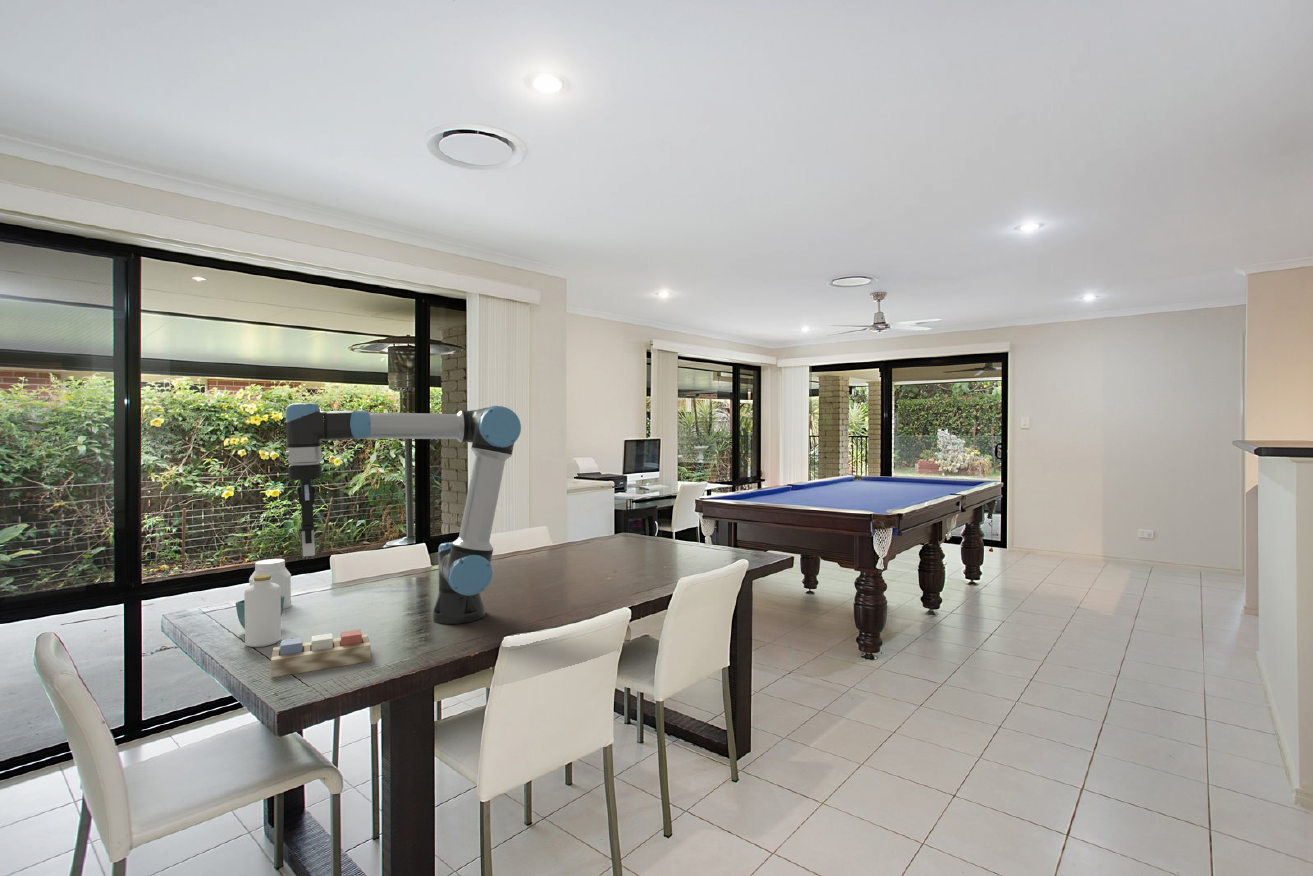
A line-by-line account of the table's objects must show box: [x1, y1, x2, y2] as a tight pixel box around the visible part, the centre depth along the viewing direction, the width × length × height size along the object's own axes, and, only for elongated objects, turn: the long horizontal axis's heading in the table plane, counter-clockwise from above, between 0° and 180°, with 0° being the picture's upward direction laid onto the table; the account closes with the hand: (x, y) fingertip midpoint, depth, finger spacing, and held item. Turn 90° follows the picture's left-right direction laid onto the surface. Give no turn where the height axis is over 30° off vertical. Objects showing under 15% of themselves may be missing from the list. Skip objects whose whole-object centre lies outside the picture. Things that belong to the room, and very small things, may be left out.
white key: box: [311, 632, 334, 651], centre depth 156 cm, size 4×4×5 cm
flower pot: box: [235, 596, 285, 630], centre depth 181 cm, size 9×9×9 cm
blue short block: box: [280, 637, 304, 656], centre depth 152 cm, size 4×4×5 cm
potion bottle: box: [243, 575, 282, 648], centre depth 170 cm, size 8×8×18 cm
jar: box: [248, 558, 292, 610], centre depth 205 cm, size 12×10×15 cm
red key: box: [340, 628, 362, 646], centre depth 159 cm, size 4×4×5 cm
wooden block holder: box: [270, 633, 372, 678], centre depth 156 cm, size 21×10×4 cm, turn 119°
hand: (308, 555), depth 163 cm, fingers closed
